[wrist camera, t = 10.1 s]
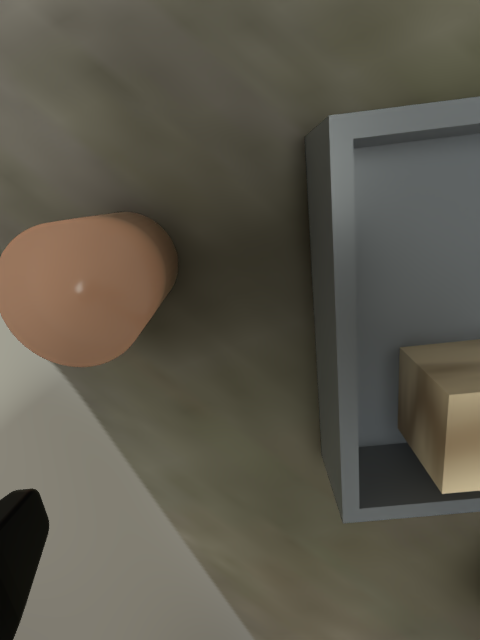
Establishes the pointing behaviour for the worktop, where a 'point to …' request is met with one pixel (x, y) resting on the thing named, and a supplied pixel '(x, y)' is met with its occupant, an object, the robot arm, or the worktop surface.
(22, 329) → the terracotta cylinder
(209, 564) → the worktop surface
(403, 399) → the beech cube
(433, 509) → the tote
